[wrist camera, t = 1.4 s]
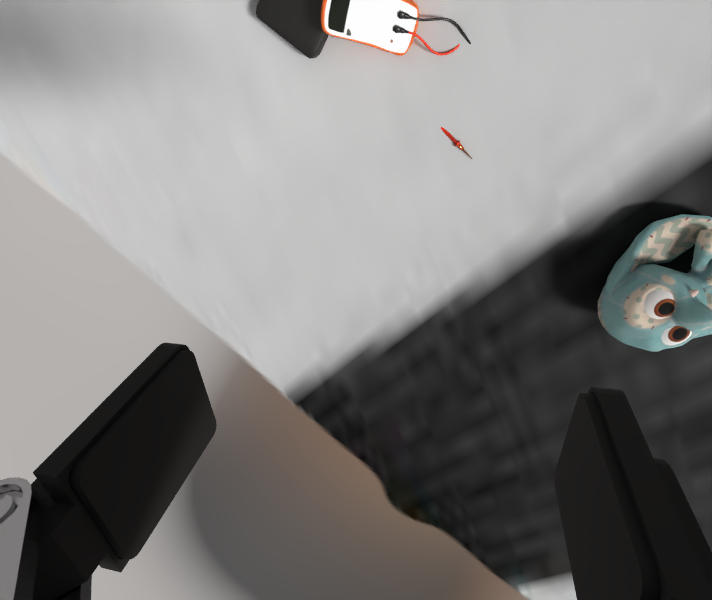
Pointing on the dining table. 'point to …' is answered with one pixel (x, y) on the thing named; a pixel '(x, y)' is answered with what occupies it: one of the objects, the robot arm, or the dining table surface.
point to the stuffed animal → (661, 286)
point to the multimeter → (347, 25)
